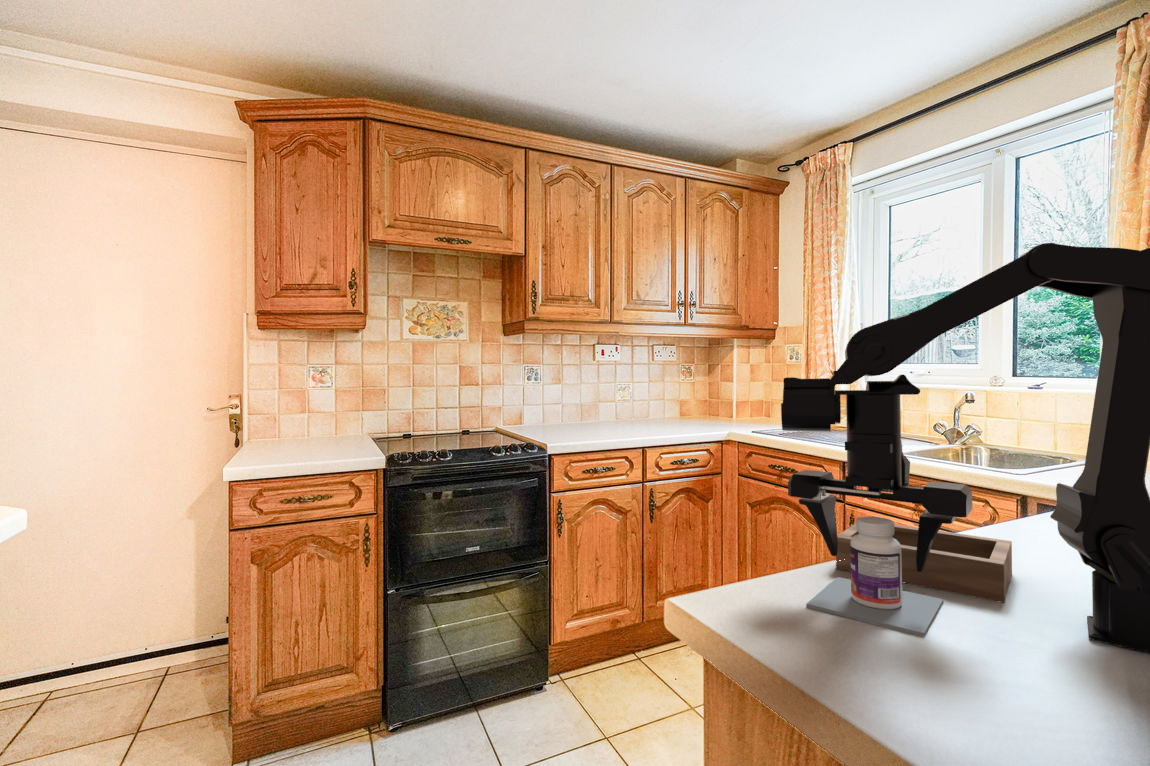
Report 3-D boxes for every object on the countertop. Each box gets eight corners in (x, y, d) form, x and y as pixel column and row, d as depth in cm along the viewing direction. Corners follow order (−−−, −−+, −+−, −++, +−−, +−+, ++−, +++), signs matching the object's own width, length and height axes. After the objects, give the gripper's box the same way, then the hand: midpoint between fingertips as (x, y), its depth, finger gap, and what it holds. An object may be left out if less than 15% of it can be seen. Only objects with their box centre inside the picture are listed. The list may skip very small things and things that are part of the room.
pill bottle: (857, 589, 69) (856, 512, 69) (906, 600, 66) (905, 519, 66) (845, 602, 65) (844, 521, 65) (897, 614, 62) (896, 528, 62)
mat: (924, 637, 57) (924, 633, 57) (806, 607, 65) (806, 603, 65) (943, 602, 66) (943, 599, 66) (837, 579, 74) (837, 576, 74)
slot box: (1004, 602, 66) (1003, 564, 66) (836, 568, 78) (835, 536, 79) (1012, 574, 76) (1011, 541, 76) (861, 548, 88) (860, 519, 88)
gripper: (977, 431, 66) (979, 562, 65) (815, 425, 78) (816, 535, 78) (964, 439, 57) (966, 588, 57) (785, 430, 70) (787, 553, 70)
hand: (875, 563), depth 66 cm, fingers open, 9 cm apart
